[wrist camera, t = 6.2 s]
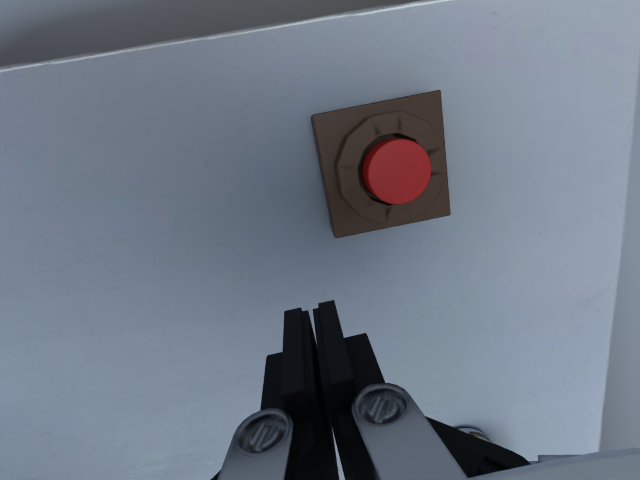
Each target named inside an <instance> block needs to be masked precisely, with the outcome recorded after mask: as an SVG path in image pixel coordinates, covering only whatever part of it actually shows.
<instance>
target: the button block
mask: <svg viewBox="0 0 640 480" xmlns="http://www.w3.org/2000/svg"><path fill="white" fill-rule="evenodd" d="M311 121H312V126H313V132H314V137H315V142H316V148H317V153H318V159H319V164H320V170H321V175H322V180H323V186H324V191H325V197H326V202H327V207H328V213H329V218H330V224H331V229H332V232H333V234H334V237H335V238H340V237H345V236H350V235H355V234H360V233H365V232H370V231H374V230H379V229H384V228H389V227H394V226H399V225H404V224H409V223H414V222H419V221H424V220H429V219H434V218H439V217H444V216H449V215H450V202H449V189H448V177H447V165H446V152H445V140H444V127H443V115H442V103H441V91H440V90H437V91H432V92H426V93H421V94H416V95H411V96H406V97H401V98H396V99H391V100H386V101H380V102H375V103H370V104H365V105H360V106H355V107H350V108H345V109H340V110H334V111H329V112H324V113H319V114H314V115H312V116H311ZM387 139H407V140H411V141H414V142H416V143H417V144H419V145H420V146H421V147H423V149H424V150H425V151H426V153H427V154H428V156H429V159H430V162H431V177H430V180H429V183H428V185H427V187H426V189H425V190H424V191H423V193H422V194H421V195H420V196H419V197H417V198H416V199H414V200H413V201H411V202H408V203H405V204H390V203H387V202H384V201H382V200H381V199H379V198H378V197H377V196H375V195H374V194H373V193H371V192H370V191H369V189H368V188H367V187H366V185H365V182H364V180H363V174H362V168H363V163H364V160H365V157H366V155H367V154H368V152H369V151H370V150H371V149H372V148H373V147H374V146H375V145H376V144H378V143H379V142H381V141H384V140H387Z"/></svg>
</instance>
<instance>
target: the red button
mask: <svg viewBox="0 0 640 480" xmlns="http://www.w3.org/2000/svg"><path fill="white" fill-rule="evenodd" d="M362 174H363V180H364V182H365V185H366V187H367V188H368V189H369V191H370V192H371V193H373V194H374V195H375V196H377V197H378V198H379V199H381V200H382V201H384V202H387V203H390V204H405V203H408V202H411V201H413V200H414V199H416V198H417V197H419V196H420V195H421V194H422V193H423V191H424V190H425V189H426V187H427V185H428V183H429V180H430V177H431V162H430V159H429V156H428V154H427V153H426V151H425V150H424V149H423V147H421V146H420V145H419V144H417V143H416V142H414V141H411V140H407V139H387V140H384V141H381V142H379V143H378V144H376V145H375V146H374V147H373V148H372V149H371V150H370V151H369V152H368V154H367V155H366V157H365V160H364V163H363V168H362Z"/></svg>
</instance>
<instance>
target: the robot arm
mask: <svg viewBox="0 0 640 480" xmlns="http://www.w3.org/2000/svg"><path fill="white" fill-rule="evenodd" d="M318 306H319V308H316V309H313V315H314V324H315V332H316V340H317V345H316V341H315V336H314V332H313V328H312V324H311V320H310V316H309V312H308V310H307V311H303V312H302V309H301V308H296V309H292V310H287V311H285V312H284V334H283V352H280V353H276V354H271V355H268V356H267V358H266V366H265V375H264V383H263V392H262V401H261V409H260V411H258V412H256V413H254V414H252V415H250V416H249V417H248V418H246V419H245V420H244V421H243V422H242V423H241V424H240V425H239V426H238V428H237V430H236V431H235V433H234V435H233V438H232V441H231V444H230V446H229V449H228V452H227V455H226V457H225V460H224V463H223V466H222V469H221V470H220V471H219V472H218V473H217V474H216V475H215V476H214V477H213V478H212V479H211V480H339V474H338V467H337V460H336V452H335V445H334V438H333V432H334V436H335V440H336V444H337V448H338V452H339V456H340V460H341V464H342V468H343V472H344V476H345V480H640V448H631V449H621V450H609V451H601V452H595V453H590V454H584V455H538V461H527V460H526V459H525V458H524V457H522V456H520V455H518V454H516V453H515V452H513V451H511V450H508V449H506V448H503V447H501V446H498V445H496V444H493V443H491V442H488V441H486V440H483V439H481V438H478V437H476V436H473V435H471V434H468V433H466V432H463V431H461V430H458V429H456V428H453V427H451V426H448V425H446V424H443V423H441V422H438V421H436V420H433V419H431V418H428V417H426V416H424V414H423V413H422V411H421V410H420V409H419V407H418V406H417V404H416V403H415V401H414V400H413V399H412V397H411V396H410V394H409V393H408V392H407V391H406V390H405V389H403V388H401V387H399V386H398V385H394V384H390V383H385V381H384V378H383V376H382V373H381V370H380V368H379V365H378V363H377V360H376V357H375V355H374V352H373V349H372V347H371V344H370V341H369V339H368V336H367V334H366V333H364V334H359V335H355V336H350V337H346V338H344V337H343V333H342V329H341V325H340V322H339V318H338V314H337V310H336V306H335V302H334V300H332V301H327V302H323V303H318ZM332 428H333V431H332Z"/></svg>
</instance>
